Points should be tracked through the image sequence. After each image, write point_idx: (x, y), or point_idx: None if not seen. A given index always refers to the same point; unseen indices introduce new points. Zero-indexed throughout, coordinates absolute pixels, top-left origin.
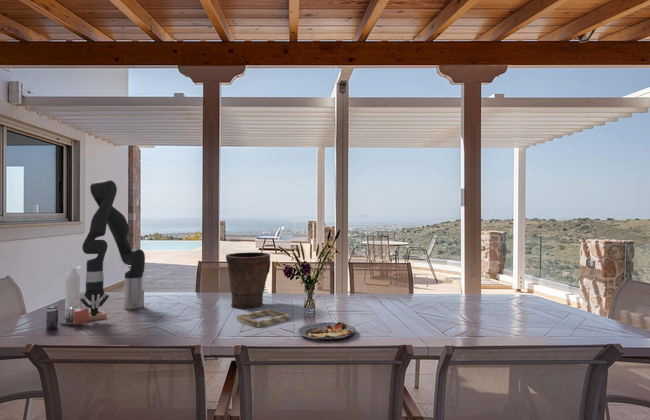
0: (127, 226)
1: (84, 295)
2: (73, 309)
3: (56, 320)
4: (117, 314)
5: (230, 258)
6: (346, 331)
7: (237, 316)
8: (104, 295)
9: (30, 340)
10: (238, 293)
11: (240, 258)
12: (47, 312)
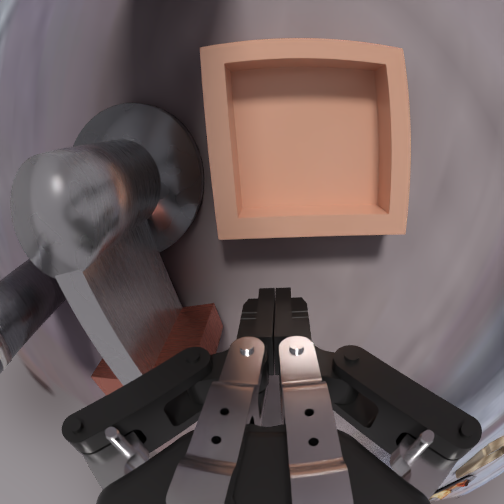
0: None
1: (104, 493)
2: (72, 306)
3: (45, 320)
4: (478, 156)
5: None
6: (440, 498)
7: (489, 451)
8: (412, 479)
9: (48, 363)
10: None
11: None
12: None
